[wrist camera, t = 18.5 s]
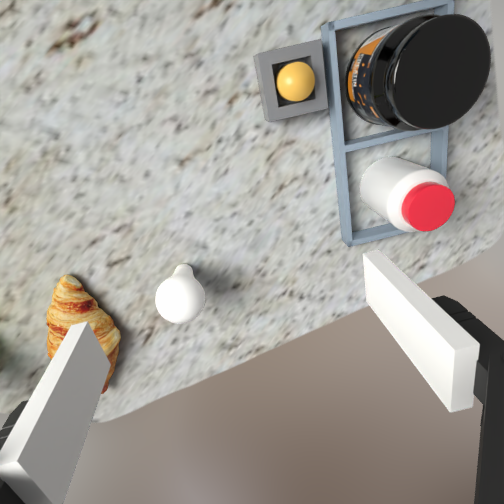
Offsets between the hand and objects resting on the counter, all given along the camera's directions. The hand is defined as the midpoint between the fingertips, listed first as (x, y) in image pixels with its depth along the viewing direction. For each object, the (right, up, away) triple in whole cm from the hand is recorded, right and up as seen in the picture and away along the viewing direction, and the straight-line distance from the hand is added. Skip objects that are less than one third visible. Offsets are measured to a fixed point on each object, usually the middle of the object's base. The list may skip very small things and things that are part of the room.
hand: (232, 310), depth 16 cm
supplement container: (+17, +24, +26) cm, 40 cm away
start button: (+5, +22, +24) cm, 33 cm away
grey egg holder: (+5, +23, +25) cm, 34 cm away
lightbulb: (-9, 0, +34) cm, 35 cm away
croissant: (-24, -9, +37) cm, 45 cm away
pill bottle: (+20, +12, +32) cm, 40 cm away
